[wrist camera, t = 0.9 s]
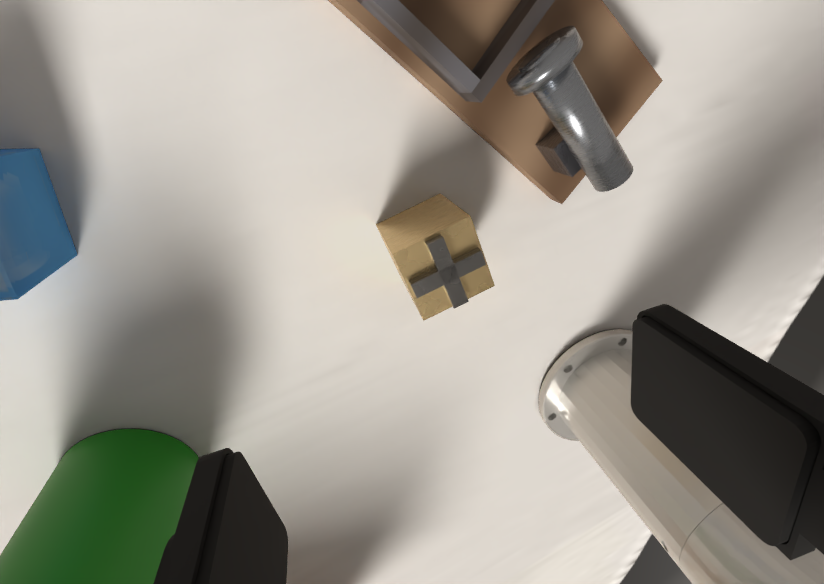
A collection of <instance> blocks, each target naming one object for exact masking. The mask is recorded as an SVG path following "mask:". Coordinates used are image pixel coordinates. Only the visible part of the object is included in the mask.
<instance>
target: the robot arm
mask: <svg viewBox="0 0 824 584" xmlns="http://www.w3.org/2000/svg"><path fill="white" fill-rule="evenodd" d="M538 404H539V412H540V414H541V417H542V419H543V421H544V422H545V423H546V425H547V426H548V428H549V429H550V430H551V431H552V432H553V433H554V434H555V435H557V436H559V437H561V438H564V439H568V440H573V441H580V442H581V444H582V445H583V446H584V447H585V449H586V450H587V451H588V452H589V454H590V455H591V456H592V458H593V459H594V460H595V461H596V463H597V464H598V465H599V466H600V468H601V469H602V470H603V471H604V473H605V474H606V475H607V477H608V478H609V479H610V480H611V482H612V483H613V484H614V485H615V487H616V488H617V489H618V490H619V492H620V493H621V494H622V496H623V497H624V498H625V499H626V501H627V502H628V503H629V504H630V506H631V507H632V508H633V509H634V511H635V512H636V513H637V515H638V516H639V517H640V518H641V520H642V521H643V522H644V523H645V525H646V526H647V527H648V528H649V530H650V531H651V532H652V534H653V535H654V536H655V537H656V539H657V540H658V541H659V542H660V544H661V545H662V546H663V547H664V549H665V550H666V551H667V552H668V554H669V555H670V556H671V558H672V559H673V560H674V561H675V563H676V564H677V565H678V566H679V568H680V569H681V570H682V571H683V573H684V574H685V575H686V576H687V578H688V579H689V580H690V581H691V583H692V584H824V395H822V394H821V393H819V392H817V391H815V390H814V389H812V388H810V387H809V386H807V385H805V384H803V383H802V382H800V381H798V380H796V379H795V378H793V377H791V376H790V375H788V374H786V373H785V372H783V371H781V370H779V369H778V368H776V367H774V366H772V365H771V364H769V363H767V362H766V361H764V360H762V359H761V358H759V357H757V356H755V355H754V354H752V353H750V352H749V351H747V350H745V349H743V348H742V347H740V346H738V345H737V344H735V343H733V342H731V341H730V340H728V339H726V338H725V337H723V336H721V335H719V334H718V333H716V332H714V331H713V330H711V329H709V328H707V327H706V326H704V325H702V324H700V323H699V322H697V321H695V320H694V319H692V318H690V317H688V316H687V315H685V314H683V313H682V312H680V311H678V310H676V309H675V308H673V307H671V306H669V305H667V304H662V305H659V306H656V307H653V308H650V309H647V310H644V311H642V312H640V313H639V314H638V316H637V320H635V321H634V322H633V331H630V330H623V329H617V330H608V331H603V332H599V333H596V334H594V335H592V336H589V337H587V338H585V339H583V340H582V341H580V342H578V343H576V344H575V345H573V346H572V347H571V348H570V349H568V350H567V351H566V352H565V353H564V354H563V355H562V356H561V357H560V358H559V359H558V360H557V361H556V362H555V363H554V365H553V366H552V367H551V369H550V370H549V372H548V373H547V375H546V377H545V379H544V381H543V383H542V386H541V389H540V393H539V401H538ZM287 554H288V537H287V532H286V529H285V526H284V524H283V523H282V521H281V519H280V517H279V516H278V514H277V512H276V511H275V509H274V507H273V506H272V504H271V502H270V500H269V499H268V497H267V495H266V494H265V492H264V490H263V489H262V487H261V485H260V483H259V482H258V480H257V478H256V477H255V475H254V473H253V471H252V470H251V468H250V466H249V465H248V463H247V461H246V460H245V458H244V456H243V455H242V453H241V452H235V453H233V451H232V450H231V449H229V448H225V449H222V450H219V451H216V452H213V453H210V454H207V455H204V456H201V457H200V458H199V459H198V461H197V463H196V466H195V469H194V473H193V476H192V479H191V482H190V486H189V489H188V492H187V496H186V499H185V502H184V505H183V509H182V512H181V515H180V518H179V522H178V525H177V528H176V532H175V534H174V535H173V536H172V537H171V538H170V539H169V540H168V542H167V544H166V547H165V549H164V552H163V555H162V558H161V561H160V564H159V568H158V571H157V574H156V577H155V580H154V583H153V584H286V576H287Z"/></svg>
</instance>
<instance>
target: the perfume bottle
mask: <svg viewBox="0 0 824 584" xmlns="http://www.w3.org/2000/svg"><path fill="white" fill-rule="evenodd" d="M75 256H77V252H76V249H75V246H74V244H73V241H72V238H71V235H70V232H69V230H68V227H67V224H66V221H65V219H64V216H63V213H62V210H61V208H60V205H59V202H58V199H57V196H56V194H55V191H54V188H53V185H52V183H51V180H50V177H49V174H48V172H47V169H46V166H45V163H44V160H43V158H42V155H41V152H40V149H39V148H36V149H0V301H2V300H14V299H18V298H20V297H21V296H22V295H24V294H25V293H27V292H28V291H29V290H31V289H32V288H33V287H35V286H36V285H37V284H39V283H40V282H41V281H43V280H44V279H45V278H47V277H48V276H50V275H51V274H52V273H54V272H55V271H56V270H58V269H59V268H60V267H62V266H63V265H64V264H66V263H67V262H69V261H70V260H71V259H73V258H74V257H75Z"/></svg>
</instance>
